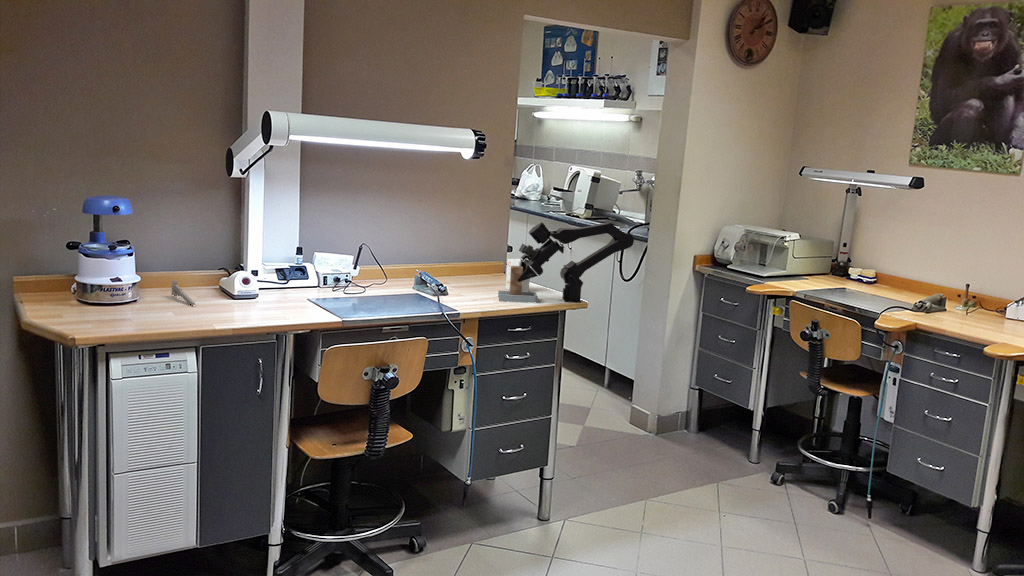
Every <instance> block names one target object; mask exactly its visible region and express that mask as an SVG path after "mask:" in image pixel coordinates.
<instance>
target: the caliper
mask: <svg viewBox="0 0 1024 576" xmlns="http://www.w3.org/2000/svg"><path fill="white" fill-rule="evenodd" d="M177 283H178V281H177V280H176V279H174V280H173V279H172V282H171V289H170V290H171V296H172V295H174V296H177V297H181V298H182V299H183V300H184V301H185V302H186V303H189V304H191V305H196V303H195V302H194V300H193V299H191V297H190V296H188V294H186V293H185V291H183V289H182V288H181V287H180V285H178V284H177ZM189 304H188V305H189ZM191 305H190V306H191Z"/></svg>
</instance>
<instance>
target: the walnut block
mask: <svg viewBox="0 0 1024 576" xmlns="http://www.w3.org/2000/svg"><path fill="white" fill-rule="evenodd" d="M522 273H523V267H522V266H511V273H510V290H508V291H509V295H521V292H522V281H521V282H518V278H519V277H520V276H521V275H522Z"/></svg>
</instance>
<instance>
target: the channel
mask: <svg viewBox="0 0 1024 576" xmlns="http://www.w3.org/2000/svg"><path fill="white" fill-rule="evenodd" d="M497 297H498V302H507V301H509V302H510V303H511V302H512V303H513V302H514V303H528V302H537V303H538V297H539V295H538V294H537V292H536V291H527V292H524V291H522V292H521V295H509V290H504V289H503V290H501V289H500V290H498V292H497Z"/></svg>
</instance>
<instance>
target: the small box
mask: <svg viewBox="0 0 1024 576" xmlns="http://www.w3.org/2000/svg"><path fill="white" fill-rule="evenodd" d="M521 259H522V258H507V261H506V267H507V268H506V277H505V278H506V279H505V289H506V291H509V290H510V273H511V266H520V265H521ZM522 260H523V259H522ZM530 279H531V278H530ZM530 279H527V280H524V281H522V291H524V292H530Z"/></svg>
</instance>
